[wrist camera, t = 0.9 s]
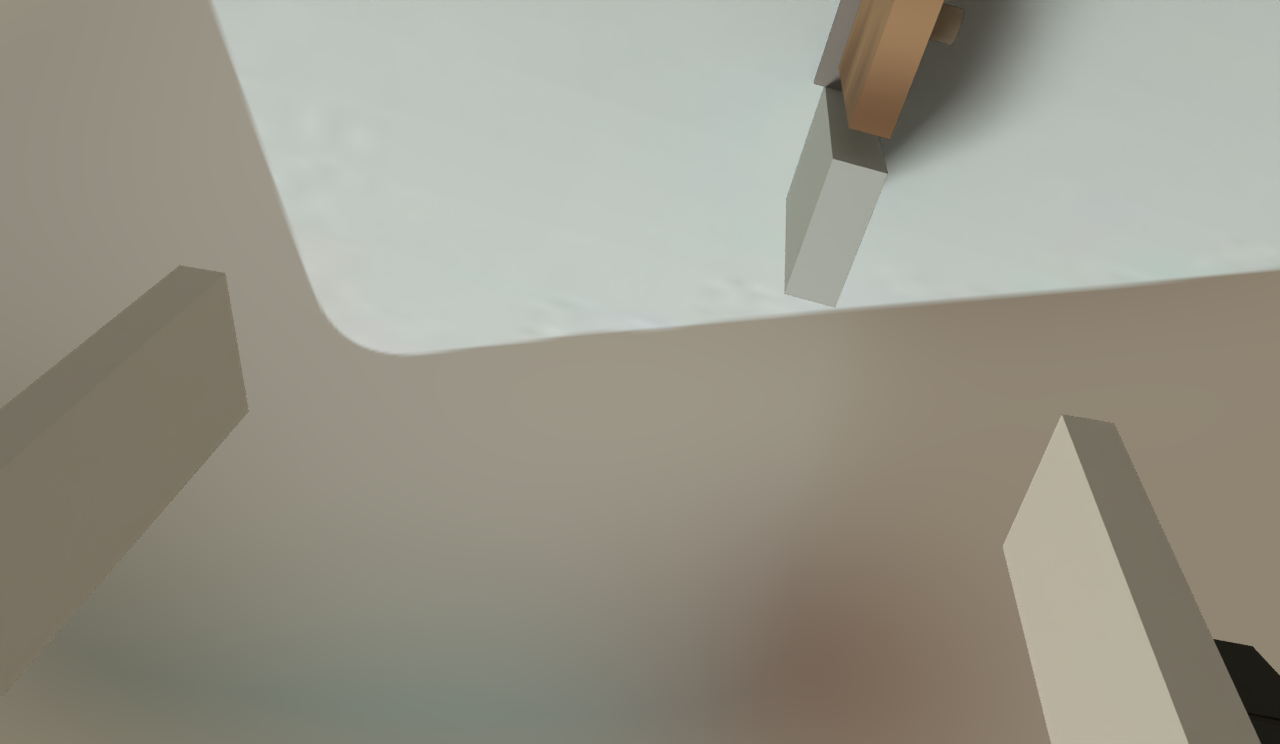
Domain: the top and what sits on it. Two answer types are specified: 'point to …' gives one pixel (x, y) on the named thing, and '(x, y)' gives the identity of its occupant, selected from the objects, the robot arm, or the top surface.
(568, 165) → the top surface
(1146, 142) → the top surface
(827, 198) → the wall
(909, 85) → the door
